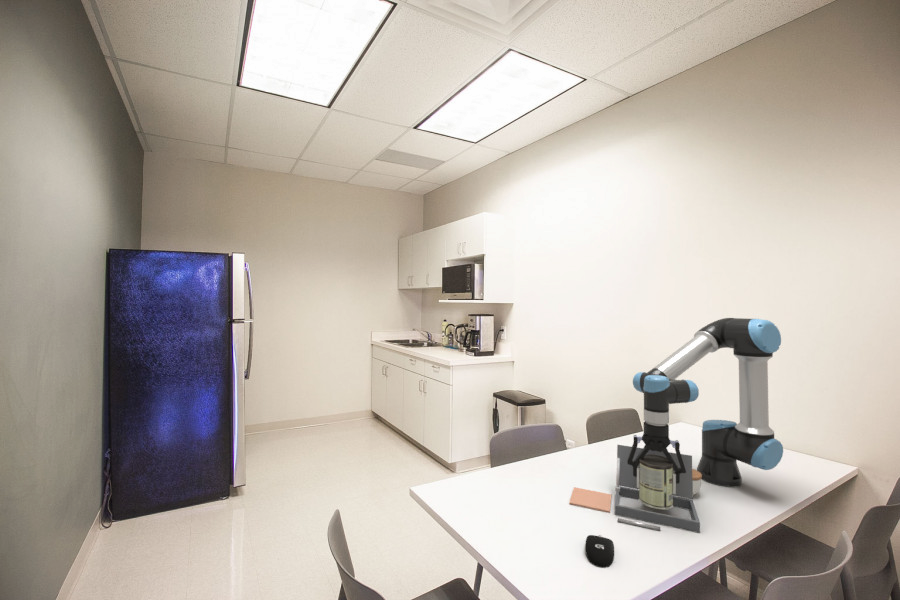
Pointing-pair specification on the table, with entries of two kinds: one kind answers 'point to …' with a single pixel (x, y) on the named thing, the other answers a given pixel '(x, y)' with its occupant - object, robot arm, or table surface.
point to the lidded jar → (696, 481)
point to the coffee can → (656, 482)
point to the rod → (638, 524)
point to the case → (630, 481)
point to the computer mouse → (599, 550)
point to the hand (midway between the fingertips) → (655, 489)
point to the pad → (591, 499)
